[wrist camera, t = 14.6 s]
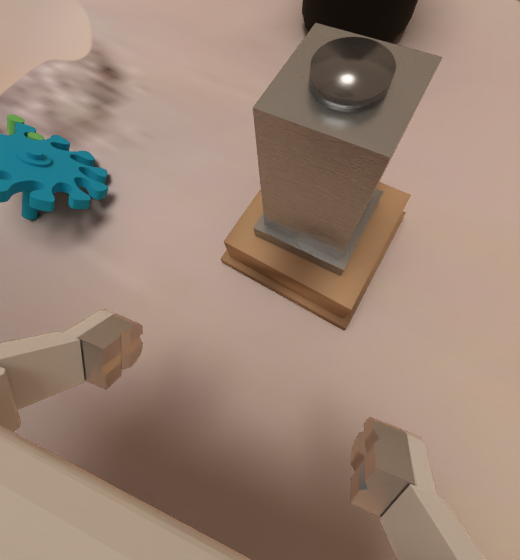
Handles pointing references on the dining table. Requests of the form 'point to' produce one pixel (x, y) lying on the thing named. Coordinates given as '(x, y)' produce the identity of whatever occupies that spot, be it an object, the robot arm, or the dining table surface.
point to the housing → (332, 139)
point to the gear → (45, 170)
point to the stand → (308, 276)
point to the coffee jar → (361, 16)
